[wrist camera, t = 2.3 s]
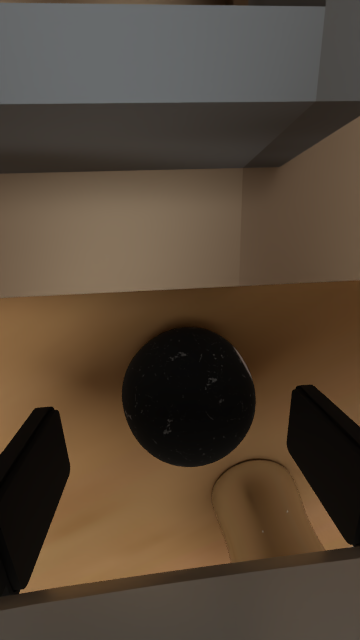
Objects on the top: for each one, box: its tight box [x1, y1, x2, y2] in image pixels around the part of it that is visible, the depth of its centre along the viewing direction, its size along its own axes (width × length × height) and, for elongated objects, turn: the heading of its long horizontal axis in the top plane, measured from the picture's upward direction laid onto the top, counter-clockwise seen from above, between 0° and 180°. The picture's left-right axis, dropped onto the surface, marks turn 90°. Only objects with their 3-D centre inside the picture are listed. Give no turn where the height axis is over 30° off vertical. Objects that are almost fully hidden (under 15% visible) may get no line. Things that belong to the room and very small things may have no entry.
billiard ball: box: [122, 327, 256, 467], centre depth 12 cm, size 6×6×6 cm
